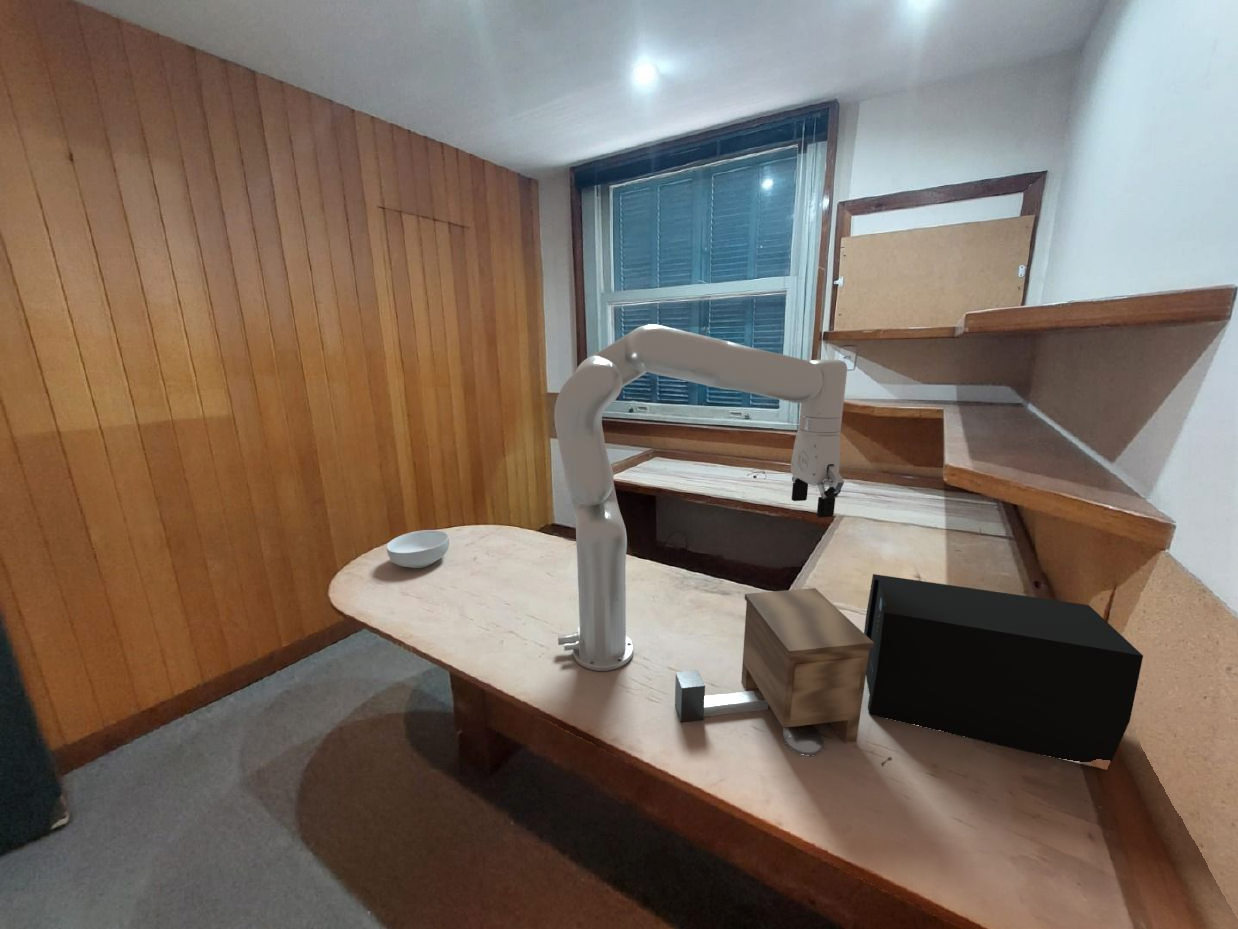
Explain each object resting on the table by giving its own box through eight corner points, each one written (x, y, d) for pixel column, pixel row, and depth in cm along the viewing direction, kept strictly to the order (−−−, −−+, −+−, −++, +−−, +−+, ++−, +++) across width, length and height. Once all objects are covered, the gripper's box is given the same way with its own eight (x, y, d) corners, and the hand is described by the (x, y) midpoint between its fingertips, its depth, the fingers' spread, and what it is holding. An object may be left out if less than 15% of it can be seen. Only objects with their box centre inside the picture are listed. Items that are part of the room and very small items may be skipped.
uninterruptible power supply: (859, 661, 96) (872, 571, 91) (1070, 703, 85) (1097, 603, 79) (869, 720, 81) (885, 616, 76) (1126, 781, 70) (1164, 663, 65)
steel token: (794, 760, 74) (794, 752, 74) (776, 730, 80) (776, 722, 79) (829, 755, 75) (830, 747, 74) (809, 725, 80) (810, 718, 80)
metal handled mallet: (680, 723, 81) (681, 688, 79) (674, 705, 85) (675, 672, 83) (769, 712, 83) (772, 678, 81) (760, 696, 87) (762, 663, 85)
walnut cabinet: (779, 753, 75) (789, 651, 70) (739, 681, 91) (744, 593, 86) (859, 743, 77) (873, 642, 72) (806, 673, 92) (815, 588, 88)
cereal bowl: (439, 545, 152) (437, 525, 151) (459, 563, 140) (457, 541, 138) (382, 561, 142) (379, 539, 140) (398, 582, 130) (395, 558, 128)
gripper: (780, 418, 100) (774, 496, 104) (827, 433, 83) (817, 525, 88) (813, 417, 101) (806, 494, 105) (866, 432, 84) (854, 522, 89)
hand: (811, 508), depth 96 cm, fingers open, 9 cm apart
